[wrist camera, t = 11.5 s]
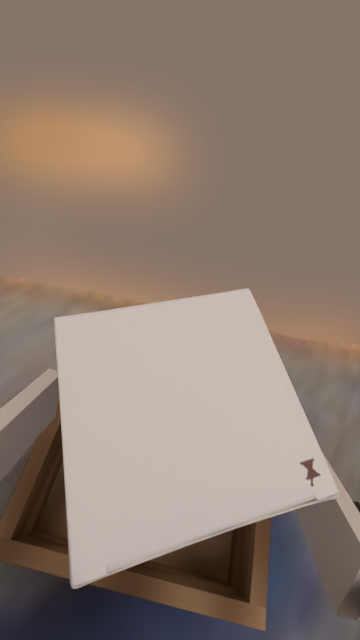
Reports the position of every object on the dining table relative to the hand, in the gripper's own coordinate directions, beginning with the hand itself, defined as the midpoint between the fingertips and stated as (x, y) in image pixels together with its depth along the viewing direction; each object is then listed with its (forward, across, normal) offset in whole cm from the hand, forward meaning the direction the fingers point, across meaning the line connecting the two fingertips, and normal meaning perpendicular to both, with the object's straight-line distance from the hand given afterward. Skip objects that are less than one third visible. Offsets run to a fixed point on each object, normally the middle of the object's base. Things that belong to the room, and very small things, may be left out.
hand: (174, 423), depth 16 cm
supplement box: (+8, 0, -8) cm, 11 cm away
